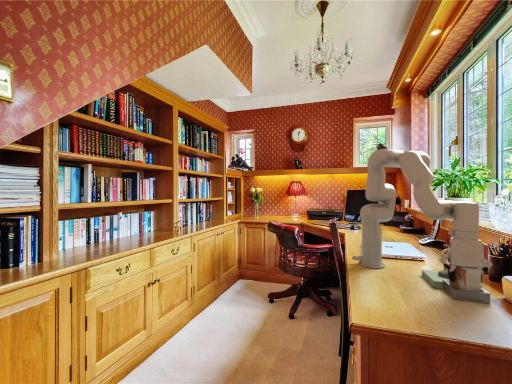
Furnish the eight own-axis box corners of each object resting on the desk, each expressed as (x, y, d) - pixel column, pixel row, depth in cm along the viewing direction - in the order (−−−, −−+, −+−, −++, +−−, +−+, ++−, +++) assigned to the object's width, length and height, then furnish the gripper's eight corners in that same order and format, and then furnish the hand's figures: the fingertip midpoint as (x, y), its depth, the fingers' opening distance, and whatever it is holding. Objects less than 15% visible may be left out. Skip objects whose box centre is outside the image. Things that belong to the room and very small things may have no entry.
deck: (433, 287, 105) (434, 273, 105) (421, 275, 121) (421, 263, 121) (482, 292, 101) (482, 277, 101) (462, 278, 116) (463, 266, 116)
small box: (448, 290, 101) (448, 263, 101) (463, 290, 101) (463, 263, 101) (465, 299, 93) (465, 269, 93) (481, 298, 93) (481, 269, 93)
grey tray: (455, 300, 93) (455, 290, 93) (442, 288, 104) (442, 279, 104) (490, 303, 90) (490, 293, 90) (472, 291, 102) (472, 282, 102)
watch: (462, 274, 122) (463, 251, 122) (441, 272, 125) (442, 249, 125) (459, 271, 127) (460, 248, 127) (439, 269, 130) (439, 247, 130)
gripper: (441, 235, 96) (441, 283, 96) (500, 238, 91) (499, 289, 91) (434, 232, 103) (433, 277, 103) (488, 234, 98) (487, 282, 98)
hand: (464, 282), depth 97 cm, fingers open, 7 cm apart
